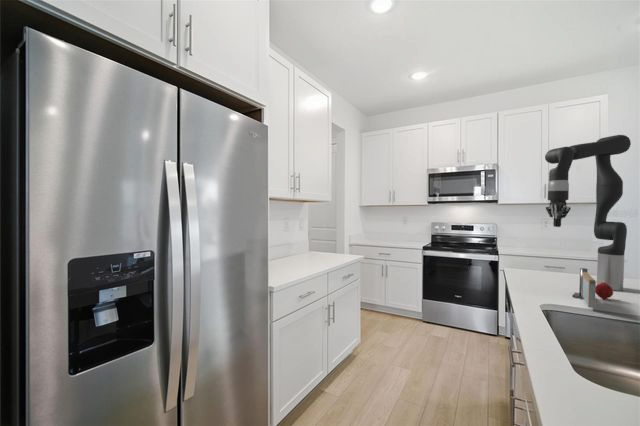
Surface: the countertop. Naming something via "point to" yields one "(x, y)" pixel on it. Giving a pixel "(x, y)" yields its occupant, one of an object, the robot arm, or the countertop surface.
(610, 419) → the countertop surface
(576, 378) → the countertop surface
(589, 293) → the wooden picture frame
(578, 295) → the post
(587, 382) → the countertop surface
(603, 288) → the onion
